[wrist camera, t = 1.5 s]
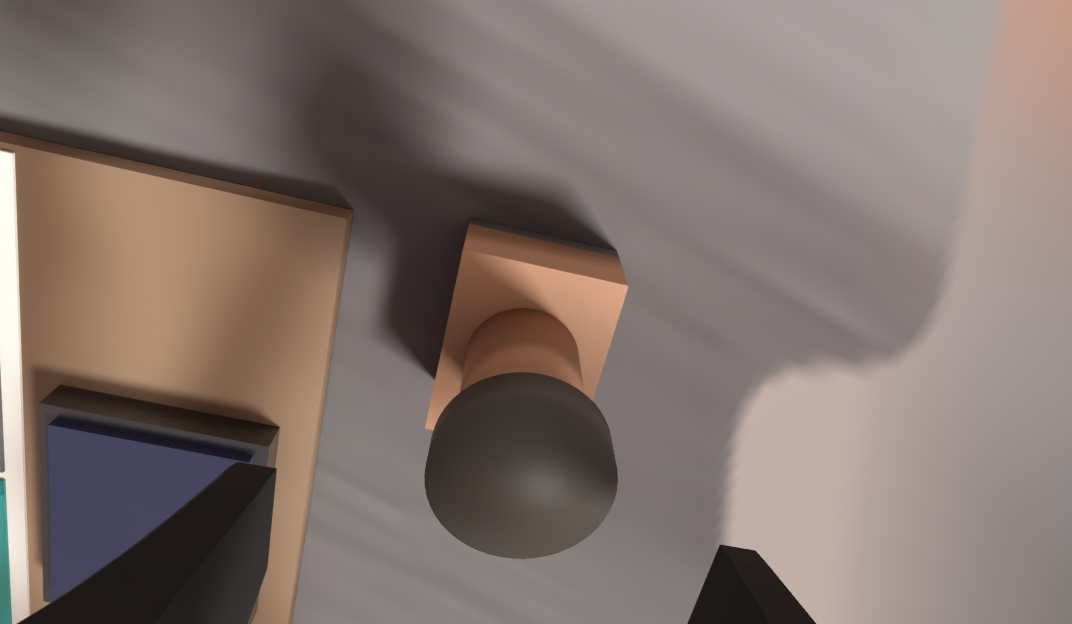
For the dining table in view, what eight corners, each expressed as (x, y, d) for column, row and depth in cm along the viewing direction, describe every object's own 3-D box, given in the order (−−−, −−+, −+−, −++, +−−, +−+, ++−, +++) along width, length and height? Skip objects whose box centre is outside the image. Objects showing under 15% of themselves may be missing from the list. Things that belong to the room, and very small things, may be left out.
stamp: (470, 217, 20) (440, 343, 13) (616, 250, 20) (664, 390, 13) (435, 379, 22) (393, 565, 15) (569, 407, 22) (589, 600, 15)
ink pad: (280, 426, 21) (265, 453, 20) (257, 609, 24) (243, 642, 23) (60, 384, 21) (32, 408, 20) (62, 577, 23) (37, 609, 22)
